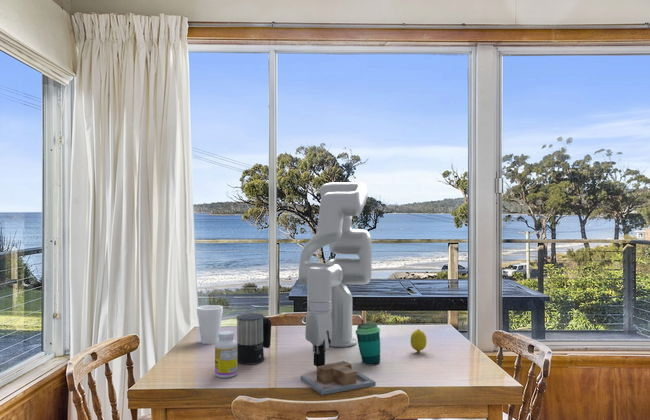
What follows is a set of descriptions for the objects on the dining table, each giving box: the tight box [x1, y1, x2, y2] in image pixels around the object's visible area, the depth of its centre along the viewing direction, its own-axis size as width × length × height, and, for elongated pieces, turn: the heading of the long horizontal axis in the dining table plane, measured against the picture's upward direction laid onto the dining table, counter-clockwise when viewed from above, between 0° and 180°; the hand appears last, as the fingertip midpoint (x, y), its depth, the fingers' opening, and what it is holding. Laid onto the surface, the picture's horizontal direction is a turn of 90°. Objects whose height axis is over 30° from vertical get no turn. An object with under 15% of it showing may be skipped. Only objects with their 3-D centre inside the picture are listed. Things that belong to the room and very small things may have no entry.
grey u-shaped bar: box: [299, 368, 377, 396], centre depth 145 cm, size 14×17×1 cm
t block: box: [316, 360, 358, 386], centre depth 145 cm, size 10×10×4 cm
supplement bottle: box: [214, 330, 238, 379], centre depth 151 cm, size 7×7×13 cm
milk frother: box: [235, 312, 272, 365], centre depth 168 cm, size 14×16×15 cm
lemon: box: [410, 328, 427, 353], centre depth 175 cm, size 6×6×8 cm
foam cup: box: [196, 304, 224, 345], centre depth 189 cm, size 10×9×13 cm
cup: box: [355, 322, 381, 366], centre depth 164 cm, size 8×8×12 cm
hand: (319, 365), depth 155 cm, fingers closed
